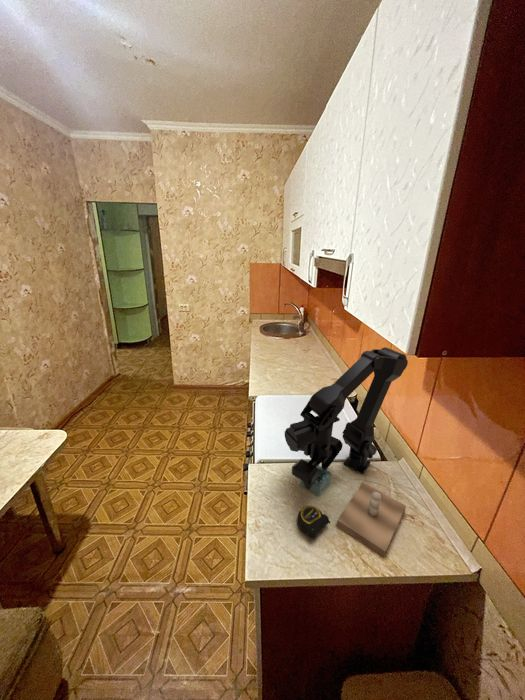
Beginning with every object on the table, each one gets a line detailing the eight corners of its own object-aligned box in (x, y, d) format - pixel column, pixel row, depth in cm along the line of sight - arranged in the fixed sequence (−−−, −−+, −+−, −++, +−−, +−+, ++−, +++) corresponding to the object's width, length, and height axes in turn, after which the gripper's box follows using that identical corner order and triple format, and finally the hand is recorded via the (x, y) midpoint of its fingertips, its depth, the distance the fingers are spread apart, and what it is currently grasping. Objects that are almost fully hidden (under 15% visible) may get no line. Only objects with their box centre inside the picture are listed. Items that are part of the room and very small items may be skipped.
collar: (311, 472, 92) (312, 462, 90) (330, 483, 88) (331, 472, 86) (300, 484, 87) (301, 474, 85) (319, 496, 83) (320, 486, 82)
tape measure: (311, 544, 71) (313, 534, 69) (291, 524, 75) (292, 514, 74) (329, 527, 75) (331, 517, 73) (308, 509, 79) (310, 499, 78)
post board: (361, 487, 86) (366, 464, 83) (404, 510, 79) (411, 486, 76) (336, 525, 75) (340, 500, 72) (383, 557, 68) (390, 531, 65)
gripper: (313, 410, 92) (309, 450, 98) (276, 440, 79) (274, 484, 85) (346, 425, 86) (339, 466, 92) (312, 460, 72) (307, 506, 78)
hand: (315, 479), depth 87 cm, fingers open, 9 cm apart
